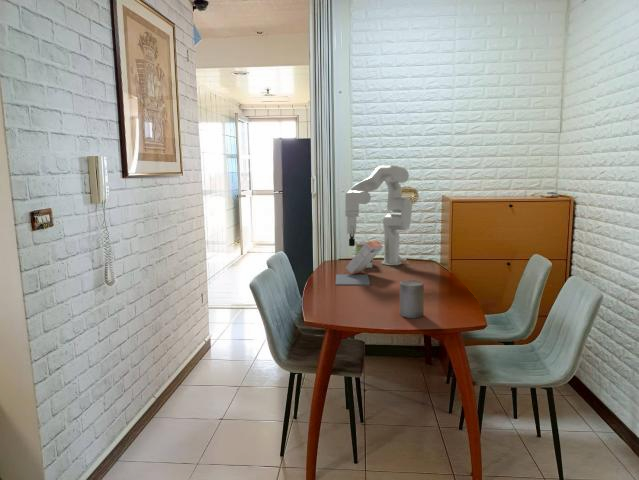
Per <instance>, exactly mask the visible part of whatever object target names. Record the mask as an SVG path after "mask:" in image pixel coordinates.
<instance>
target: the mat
mask: <svg viewBox="0 0 639 480" xmlns="http://www.w3.org/2000/svg"><path fill="white" fill-rule="evenodd" d="M335 286H371V283H370V278H369V274H359V273H356V274H353V275H351V274H350V273H349V274H345V273H344V274H343V273H342V274H339V273H338V274H337V273H336V274H335Z"/></svg>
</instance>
